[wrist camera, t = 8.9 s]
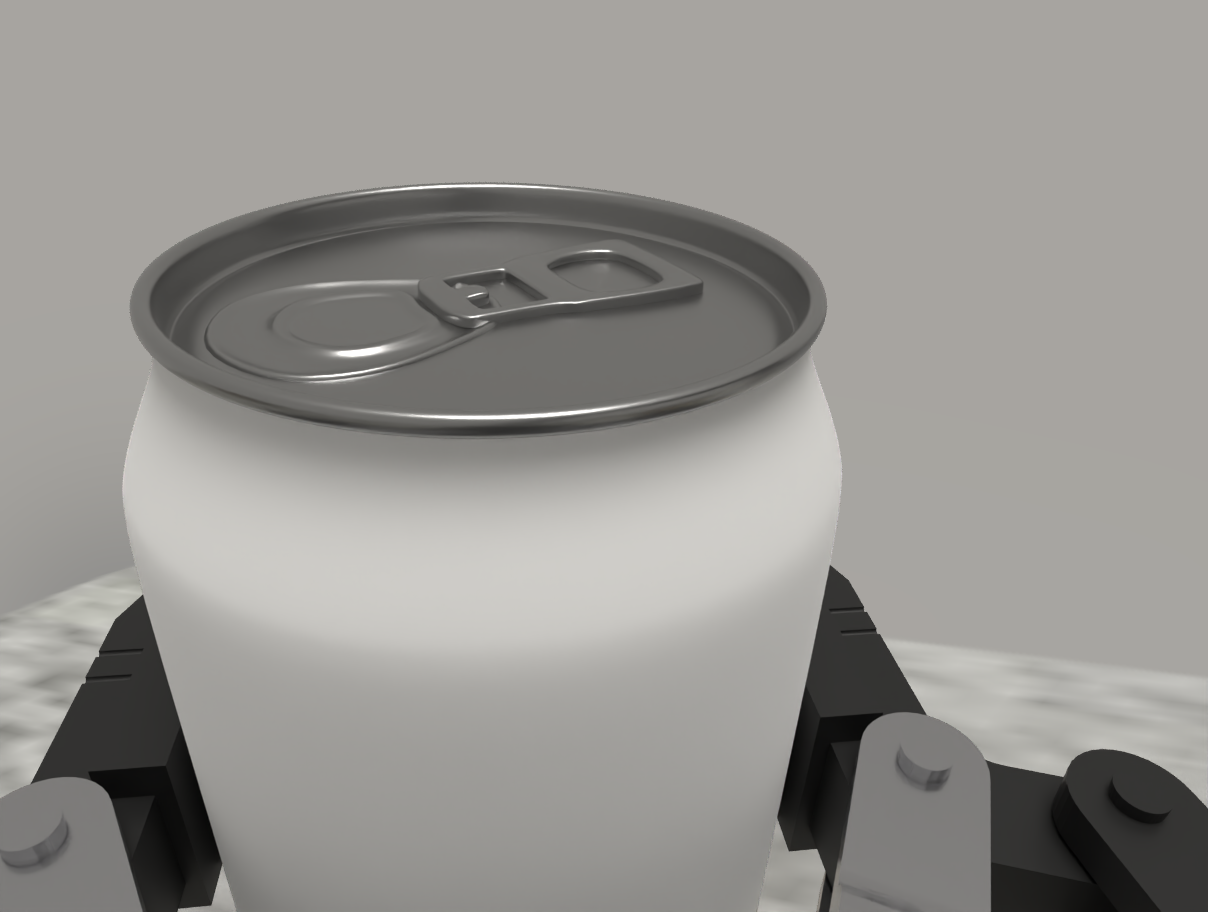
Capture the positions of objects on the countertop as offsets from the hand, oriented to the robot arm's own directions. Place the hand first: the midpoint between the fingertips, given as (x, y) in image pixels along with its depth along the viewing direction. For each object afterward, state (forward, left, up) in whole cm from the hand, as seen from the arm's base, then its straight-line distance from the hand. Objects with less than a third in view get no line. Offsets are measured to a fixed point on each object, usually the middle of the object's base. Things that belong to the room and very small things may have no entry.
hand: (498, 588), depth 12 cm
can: (+1, +2, -7) cm, 7 cm away
